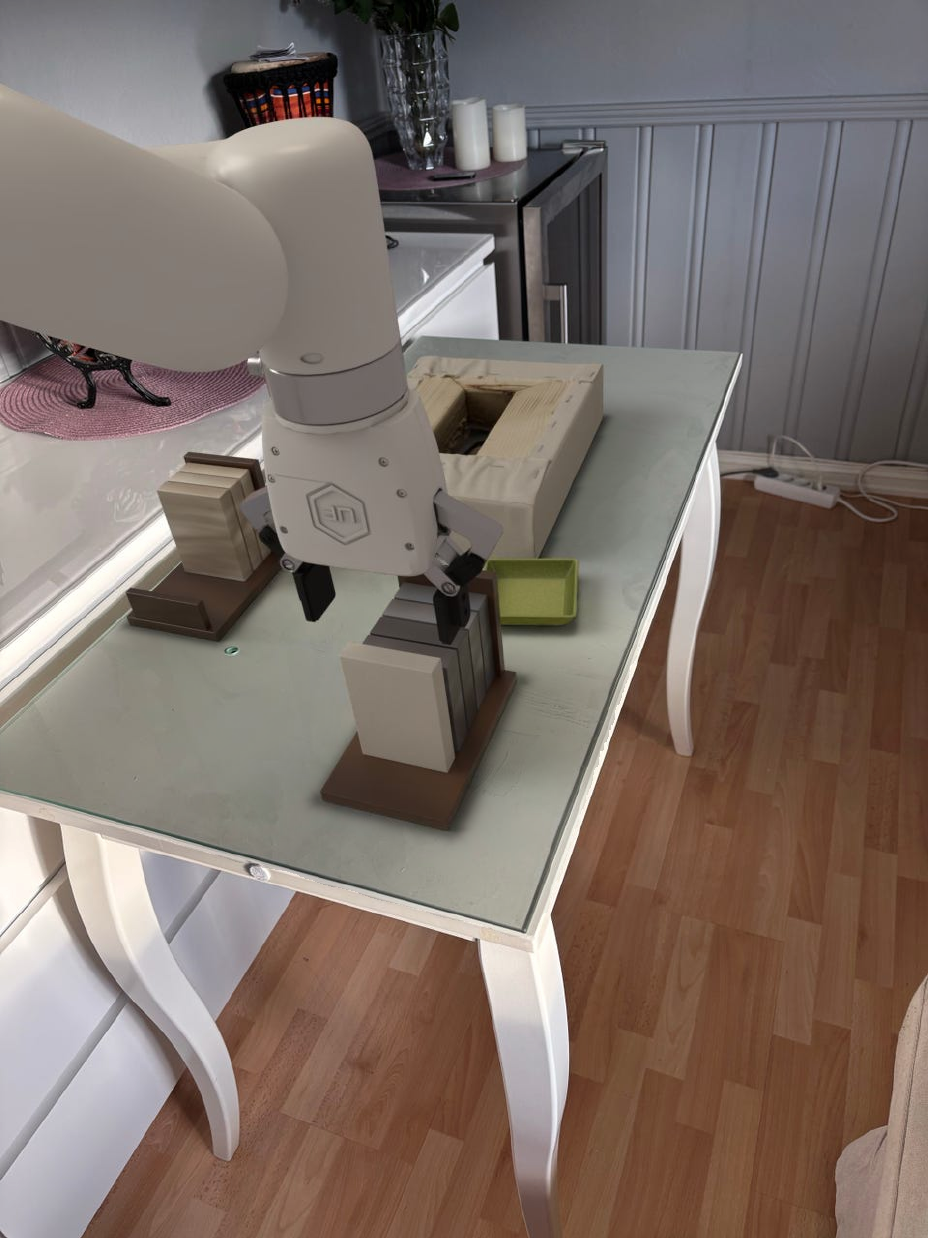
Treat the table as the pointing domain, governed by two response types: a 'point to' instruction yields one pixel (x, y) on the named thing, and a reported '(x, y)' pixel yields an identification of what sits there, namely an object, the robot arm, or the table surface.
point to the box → (510, 439)
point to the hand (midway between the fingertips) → (386, 619)
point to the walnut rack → (471, 701)
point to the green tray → (536, 590)
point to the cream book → (399, 705)
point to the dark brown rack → (208, 550)
